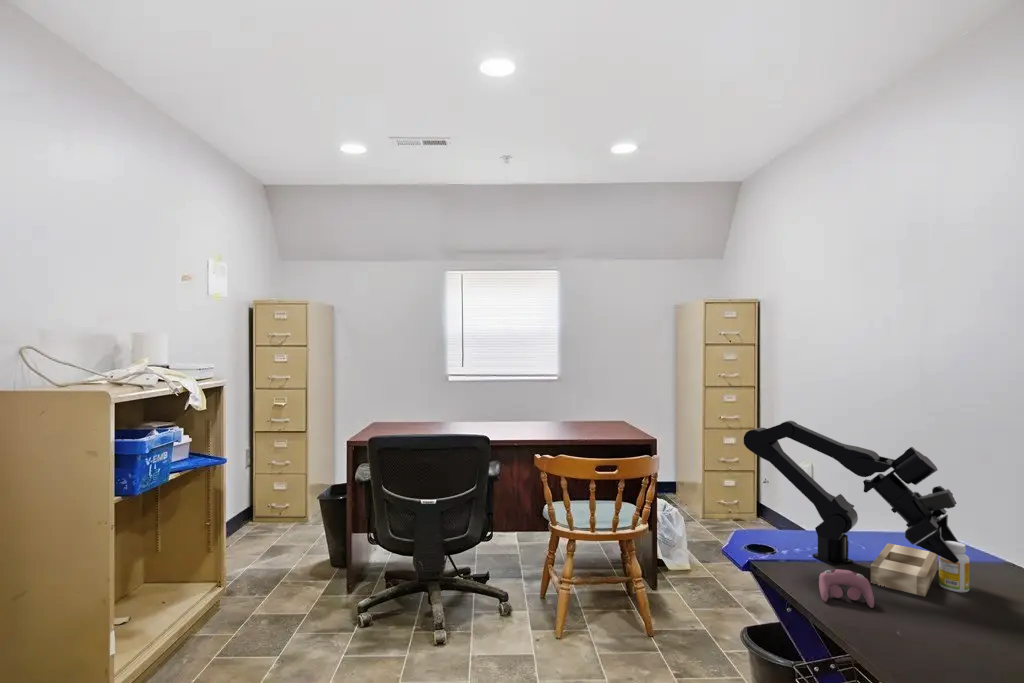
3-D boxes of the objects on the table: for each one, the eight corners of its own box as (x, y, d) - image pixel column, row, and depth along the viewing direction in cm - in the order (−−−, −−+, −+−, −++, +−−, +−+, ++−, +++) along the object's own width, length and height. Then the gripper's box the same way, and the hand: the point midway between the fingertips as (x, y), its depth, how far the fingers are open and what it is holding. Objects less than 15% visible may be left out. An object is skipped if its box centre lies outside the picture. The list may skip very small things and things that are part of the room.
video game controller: (871, 609, 120) (867, 573, 123) (876, 608, 117) (873, 571, 120) (818, 602, 124) (815, 567, 127) (821, 600, 120) (819, 564, 123)
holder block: (870, 583, 130) (870, 565, 130) (887, 559, 145) (887, 543, 145) (925, 596, 123) (925, 577, 123) (937, 569, 138) (937, 553, 138)
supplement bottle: (958, 583, 131) (959, 540, 131) (975, 593, 125) (975, 548, 125) (933, 582, 131) (933, 539, 131) (948, 592, 126) (949, 547, 126)
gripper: (923, 483, 124) (990, 547, 117) (935, 469, 138) (995, 526, 131) (880, 512, 129) (941, 576, 122) (895, 496, 143) (951, 552, 136)
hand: (959, 556), depth 128 cm, fingers open, 9 cm apart
